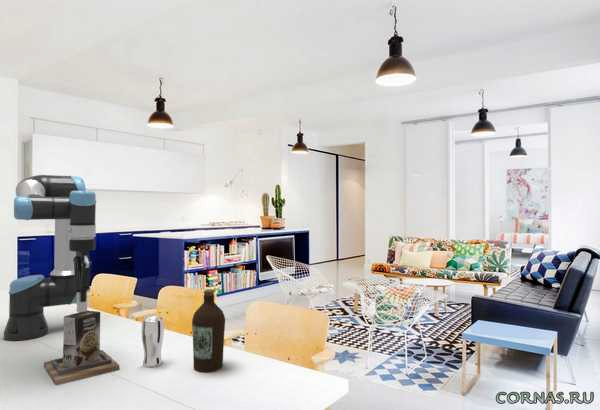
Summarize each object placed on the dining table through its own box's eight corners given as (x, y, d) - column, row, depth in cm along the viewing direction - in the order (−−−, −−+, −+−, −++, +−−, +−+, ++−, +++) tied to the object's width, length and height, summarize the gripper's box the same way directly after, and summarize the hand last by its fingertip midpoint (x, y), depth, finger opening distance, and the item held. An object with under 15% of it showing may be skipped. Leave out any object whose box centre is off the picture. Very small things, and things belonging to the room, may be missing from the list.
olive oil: (202, 359, 144) (203, 286, 144) (230, 363, 141) (230, 289, 141) (185, 370, 134) (185, 293, 134) (214, 375, 131) (215, 295, 131)
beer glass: (167, 361, 142) (168, 317, 142) (154, 369, 135) (154, 322, 135) (150, 359, 144) (151, 315, 144) (136, 366, 137) (137, 320, 137)
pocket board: (43, 366, 136) (43, 358, 136) (102, 354, 148) (102, 346, 148) (55, 385, 123) (55, 376, 123) (119, 369, 135) (119, 361, 135)
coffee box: (77, 370, 130) (77, 318, 130) (62, 366, 133) (62, 316, 133) (100, 360, 139) (101, 311, 139) (86, 357, 141) (86, 309, 141)
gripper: (64, 237, 138) (64, 309, 138) (74, 240, 128) (74, 317, 128) (89, 236, 143) (88, 305, 143) (100, 239, 133) (100, 313, 133)
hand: (81, 311), depth 135 cm, fingers closed
